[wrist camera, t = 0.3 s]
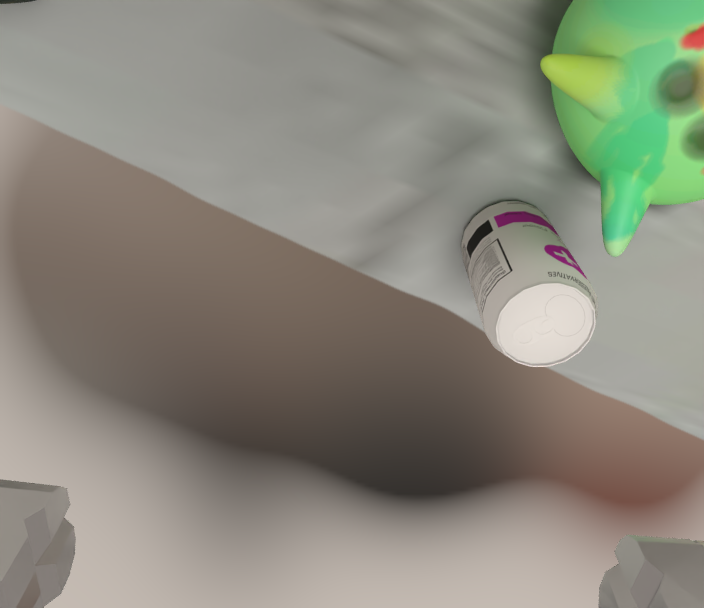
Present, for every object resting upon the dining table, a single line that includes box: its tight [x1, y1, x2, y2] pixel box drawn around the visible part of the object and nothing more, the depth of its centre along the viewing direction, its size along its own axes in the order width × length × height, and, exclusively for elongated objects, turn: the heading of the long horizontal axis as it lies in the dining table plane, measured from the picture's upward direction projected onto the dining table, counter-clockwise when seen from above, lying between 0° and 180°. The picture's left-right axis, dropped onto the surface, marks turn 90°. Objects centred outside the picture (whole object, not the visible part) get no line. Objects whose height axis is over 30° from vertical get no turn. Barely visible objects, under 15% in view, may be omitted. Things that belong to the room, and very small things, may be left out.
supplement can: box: [461, 201, 598, 367], centre depth 52 cm, size 8×8×15 cm
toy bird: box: [540, 0, 704, 257], centre depth 44 cm, size 18×17×15 cm
